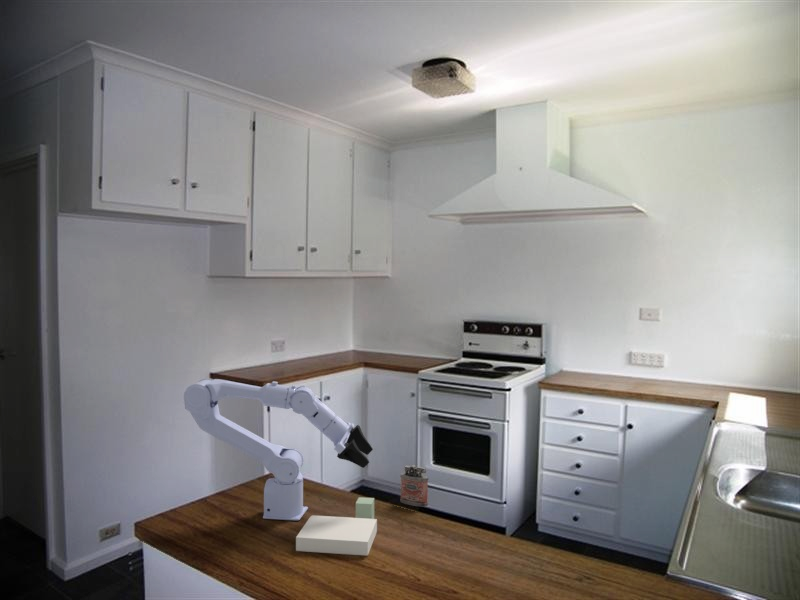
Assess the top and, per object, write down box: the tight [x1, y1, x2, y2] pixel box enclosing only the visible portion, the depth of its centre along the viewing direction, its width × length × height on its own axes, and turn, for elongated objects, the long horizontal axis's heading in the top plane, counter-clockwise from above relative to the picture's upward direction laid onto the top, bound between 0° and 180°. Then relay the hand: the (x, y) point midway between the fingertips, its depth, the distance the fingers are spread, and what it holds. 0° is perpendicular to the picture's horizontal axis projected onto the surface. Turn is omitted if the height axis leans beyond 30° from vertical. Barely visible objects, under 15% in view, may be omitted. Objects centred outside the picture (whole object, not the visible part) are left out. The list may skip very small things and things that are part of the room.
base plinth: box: [295, 514, 378, 557], centre depth 126 cm, size 16×12×3 cm
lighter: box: [399, 464, 429, 508], centre depth 149 cm, size 8×3×10 cm, turn 62°
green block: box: [355, 496, 375, 519], centre depth 138 cm, size 4×4×5 cm
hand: (368, 458), depth 142 cm, fingers open, 7 cm apart
